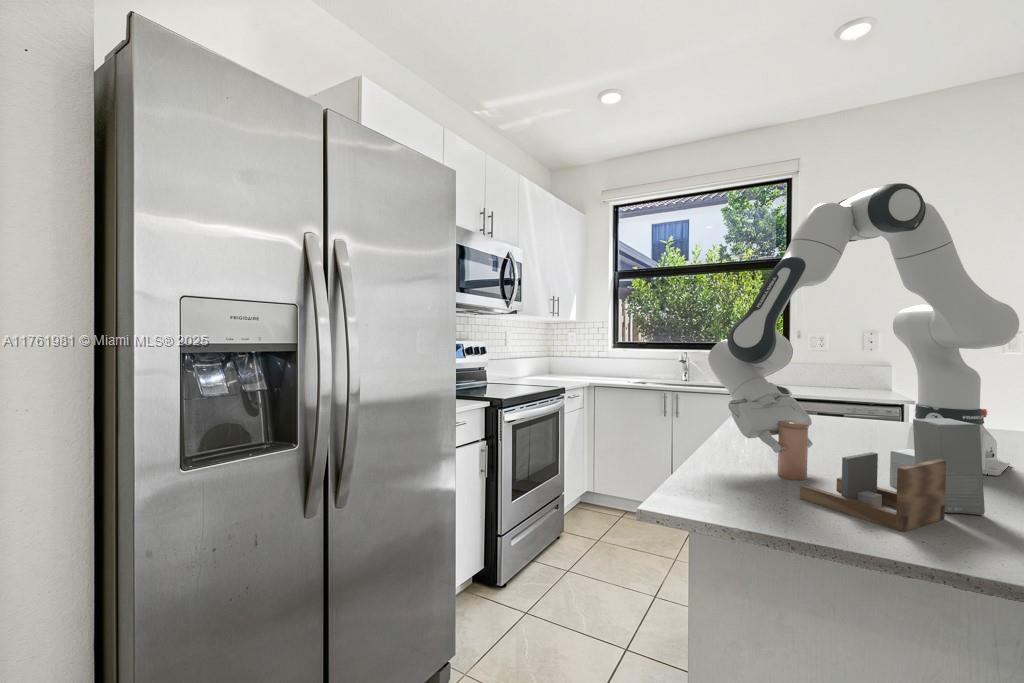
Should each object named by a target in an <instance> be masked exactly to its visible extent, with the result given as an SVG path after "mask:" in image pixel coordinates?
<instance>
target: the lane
mask: <svg viewBox="0 0 1024 683" xmlns="http://www.w3.org/2000/svg"><path fill="white" fill-rule="evenodd" d="M945 481H946V460H941V459H937V460H932V461H927V462H923V463H918V464H913V465H908V466H904V467H899V468H897V487H896V491H893V490H891V489H885V488H882V487H878V486H877V494H880V495H882V505H887V506H889V507H894V508H896V511H894V510H891V509H887V508H884V507H882V508H881V507H878V506H874V505H871V504H868V503H864V502H861V501H857V500H854V499H851V498H847V497H844V496H841V495H840V494H836V493H834V492H830V491H827V490H823V489H819V488H817V487H813V486H809V485H806V484H803V485H800V486H799V499H801V500H803V501H806V500H807V502H809V501H810V503H812V502H813V504H815V503H816V504H815V505H819V506H822V507H826V508H827V509H831V510H833V511H834V510H835V511H838V512H840V513H843V514H847V515H850V516H853V517H856V518H860V519H862V520H865V521H868V522H871V523H875V524H877V525H881V526H883V527H887V528H890V529H893V530H897V531H899V532H902V533H904V532H907V531H910V530H912V529H917V528H920V527H922V526H923V527H924V526H926V525H929V524H932V523H936V522H939V521H942V520H944V519H945V514H946V512H945ZM836 491H837V492H841V493H842V477H836Z"/></svg>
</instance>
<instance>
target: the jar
mask: <svg viewBox="0 0 1024 683" xmlns="http://www.w3.org/2000/svg"><path fill="white" fill-rule="evenodd" d="M778 425H779V435H778V440H777V441H778V442H781V443H782V445H783V446H784V447H785V449H784V450H783V451H782V452H779V453H777V476H779V478H780V477H781V478H783V479H788V480H795V481H805V480H807V479H808V453H809V452H808V449H809V448H808V438H809V428H810V426H809V424H808V423H806V422H801V421H792V420H783V421H778Z"/></svg>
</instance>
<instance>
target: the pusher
mask: <svg viewBox="0 0 1024 683" xmlns="http://www.w3.org/2000/svg"><path fill="white" fill-rule="evenodd" d="M878 456H879V453H877V452H873V451H871V452H866V453H865V452H864V453H860V454H854V455H849V456H843V457H842V458H841V462H842V463H841V466H842V467H841V478H842V492H841V496H844V497H847V498H851V499H854V500H857V501H861V502H864V503H868V504H871V505H874V506H878V507H881V508H883V507H882V505H883V503H882V495H880V494H877V487H878V470H879V468H878V467H879V466H878V465H879V463H878V462H879V459H878V458H879V457H878Z"/></svg>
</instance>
